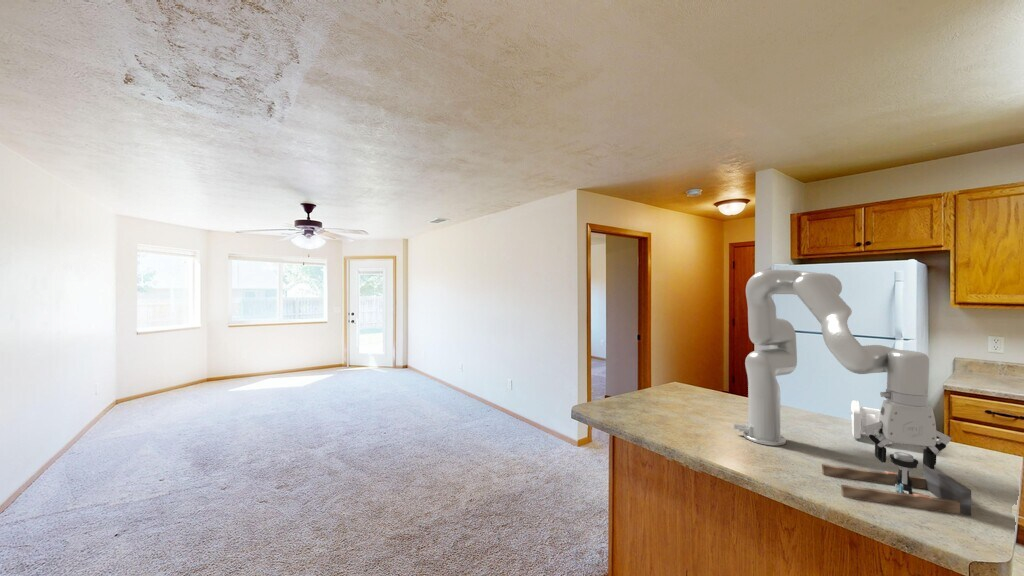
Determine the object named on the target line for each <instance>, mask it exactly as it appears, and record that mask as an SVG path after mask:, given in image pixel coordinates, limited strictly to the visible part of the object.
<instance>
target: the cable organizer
mask: <svg viewBox="0 0 1024 576" xmlns="http://www.w3.org/2000/svg"><path fill="white" fill-rule="evenodd" d="M880 410H881V408H880V409H879V408H872V407H864V406H861V404H860V401H858V400H854V399H853V400H852V401H851V402H850V416H851V431H852V432H851V433H852V437H853V439H856V440H861V435H863V436H867V434H866V433H865V431H864V429H863V427H864V426H867V425H870V424H874V423H877V422H878V421H879V415H880ZM873 434H874V436H875V437H877V436H878V435H879V433H878V430H875V431H873ZM886 445H887V446H890V445H893V442H889V443H887V444H886Z"/></svg>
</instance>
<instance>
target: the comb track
mask: <svg viewBox="0 0 1024 576" xmlns="http://www.w3.org/2000/svg"><path fill="white" fill-rule="evenodd" d="M821 473H822V475H824V476H829V477H830V476H831V477H836V478H837V477H838V478H844V479H850V480H851V479H852V480H860V481H867V482H876V483H881V484H888V485H889V484H890V485H895V484H897V483H896V481H895V477H896V476H898V473H899V472H895V471H886V470H885V472H884V471H878V470H876V471H875V470H870V469H869V470H868V469H861V468H854V467H847V466H846V467H845V466H838V465H831V464H821ZM909 477H910V479H911V480H912V485H911V487H912V488H919V489H926V490H927V491H928V492H930V493H931V494H932V495H933V496H934V497H932V496H930V495H927V494H920V493H913V492H912V494H911V493H910V494H905V493H899V491H890V490H889V491H888V490H882V489H874V488H869V487H861V486H853V485H848V484H841V485H840V488H841V489H840V493H841V496H842V497H844V498H849V499H850V498H852V499H858V500H864V501H871V502H876V503H877V502H879V503H884V504H892V505H898V506H905V507H912V508H918V509H925V510H931V511H938V512H946V513H952V514H958V515H959V514H960V515H965V516H972V489H971V488H968V487H967V486H966V485H964V484H962V483H961V482H959V481H958V480H956V479H955V478H953V477H952V476H950V475H949V474H947V473H945V472H944V471H942V470H941V469H939V468H937V467H936V466H935V468H934V469H930V468H929V467H927V466H926V465H924V464H923V463H922V476H917V475H909Z"/></svg>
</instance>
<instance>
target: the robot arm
mask: <svg viewBox="0 0 1024 576" xmlns="http://www.w3.org/2000/svg"><path fill="white" fill-rule="evenodd" d="M842 289H843V284H842V282H841V281H840V279H839V278H838V277H836V276H835V275H834V274H830V273H827V272H825V273H823V272H814V271H813V272H811V271H805V270H804V271H802V270H794V269H793V270H791V269H790V270H789V269H766V270H765V269H764V270H760V271H757V272H756V273H754V274H753V275H752V276H751V277H750V278H749V279H748V281H747V282H746V286H745V297H746V304H747V323H748V325H747V326H748V338H749V340H750V341H751V343H752V344H754V345H757V346H768V348H764V349H757V350H753V351H751V352H749V354H747V356H746V357H745V360H744V361H745V362H744V365H745V372H746V375H747V376H746V377H747V387H748V388H747V389H748V390H747V391H748V392H747V393H748V394H747V398H748V401H747V403H748V405H747V406H748V407H747V408H748V409H747V410H748V411H747V414H748V415H747V418H748V419H747V421H746V422H745V423H743V424H739V423H733V428H732V429H733V430H738V432H742V433H743V434H742V435H743V437H744V438H745V439H747V440H749V441H750V442H754V443H757V444H760V445H766V446H772V447H773V446H777V447H778V446H783V445H785V444H786V442H787V440H786V438H785V437H784V436H783V435H781V389H780V385H779V382H778V380H777V377H778V376H779V377H780V376H786V375H790V374H792V373H793V372H794V371H795V370H796V368H797V365H798V354H797V353H798V351H797V334H796V331H795V328H794V326H793V325H792V324H791V322H789V320H787V319H784V318H779V317H778V318H777V308H776V307H777V306H776V303H775V301H774V299H773V298H772V296H773V295H794V296H795V295H796V296H797V297H798V299H800V301H801V302H802V303H803V304H804V305H805V307H806V308H807V309H808V310H809V312H810V313H811V314H812V315H813V316H814V318H816V320H817V322H818V323H820V326H821V333H822V338H823V341H824V343H825V345H826V347H827V349H828V350H829V352H830V353H831V354H832V355H833V356H834V358H835V359H836V360H837V362H839V364H841V366H842V367H844V368H845V369H846V370H847V371H849V372H851V373H853V374H857V375H869V374H877V373H881V374H882V373H887V374H886V375H887V376H886V388H885V391H880V397H881V398H884V399H883V401H882V404H881V406H880V415H879V421H878V422H877V423H874V424H870V425H867V426H864V427H863V429H864V431H865V433H866V434H867V435H866V438H869V440H870V441H871V442H872V443H874V456H875V457H876V459H877V460H879V461H880V462H881V463H883V464H884V463H887V448H886V447H885V446H886V445H887V443H889V442H892V444H893V443H894V444H900V445H906V446H907V445H908V446H914V447H915V446H916V447H924V449H923V451H922V452H923V453H922V457H923V458H922V465H923V464H924V465H926V466H927V467H929V468H930V469H934V468H935V467H936V465H937V455H939V454H940V453H941V451H942V450H944V449H946V448H947V445H948V444H949V443H950V442H951V440H952V437H950V436H948V435H947V434H944V433H942V432H940V431H938V430H937V424H936V417H935V413H934V410H933V407H932V406H930V405H929V382H930V381H929V379H930V357H929V356H928V355H927V354H926V353H923V352H919V351H915V350H907V349H906V350H905V349H897V348H893V347H889V346H885V345H880V344H871V345H869V344H868V345H867V344H866V345H862V344H861V343H860V342H859V341H858V340H857V338H856V337H855V336H854V334H852V332H851V330H850V328H849V326H848V321H849V318H850V317H851V315H852V313H853V310H852V308H851V307H850V306H849V305H848V304H847V303H846V301H844V299H843V298H842V297H841V296H840V295H841V293H842ZM875 430H878V433H879V435H878V436H876V435H874V434H873V431H875ZM937 437H938V440H937Z"/></svg>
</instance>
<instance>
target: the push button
mask: <svg viewBox="0 0 1024 576" xmlns="http://www.w3.org/2000/svg"><path fill="white" fill-rule="evenodd" d="M889 458H890V462H891V463H892V464H894V465H895V466H897V467H898V472H897V473H898V476H896V477H895V481H896V483H897V484H894V485H895V486H894V487H895V491H898V493H905V494H912V495H913V487H911V485H912V480H911V479H910V477H909V476H910V471H909V470H913V469H917V468H918V465H919V460H918V459H916V458H914V456H913V455H912V454H910V453H906V452H902V451H894V452H893V453H891V454H889Z"/></svg>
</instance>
